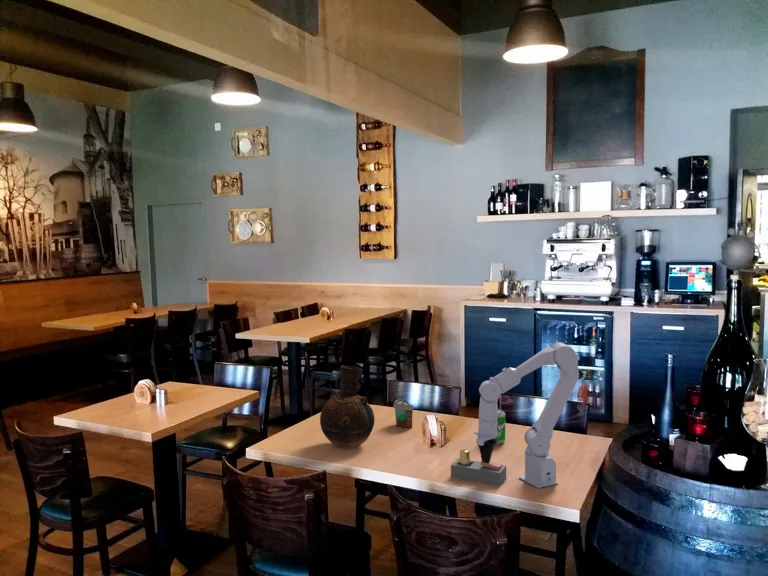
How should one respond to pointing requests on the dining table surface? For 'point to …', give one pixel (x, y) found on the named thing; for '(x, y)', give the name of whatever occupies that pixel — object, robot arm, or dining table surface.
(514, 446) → the dining table surface
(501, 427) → the soda can
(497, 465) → the bar
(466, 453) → the brass pin
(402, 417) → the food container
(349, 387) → the ceramic vessel
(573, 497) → the dining table surface
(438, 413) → the dining table surface
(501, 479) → the block
